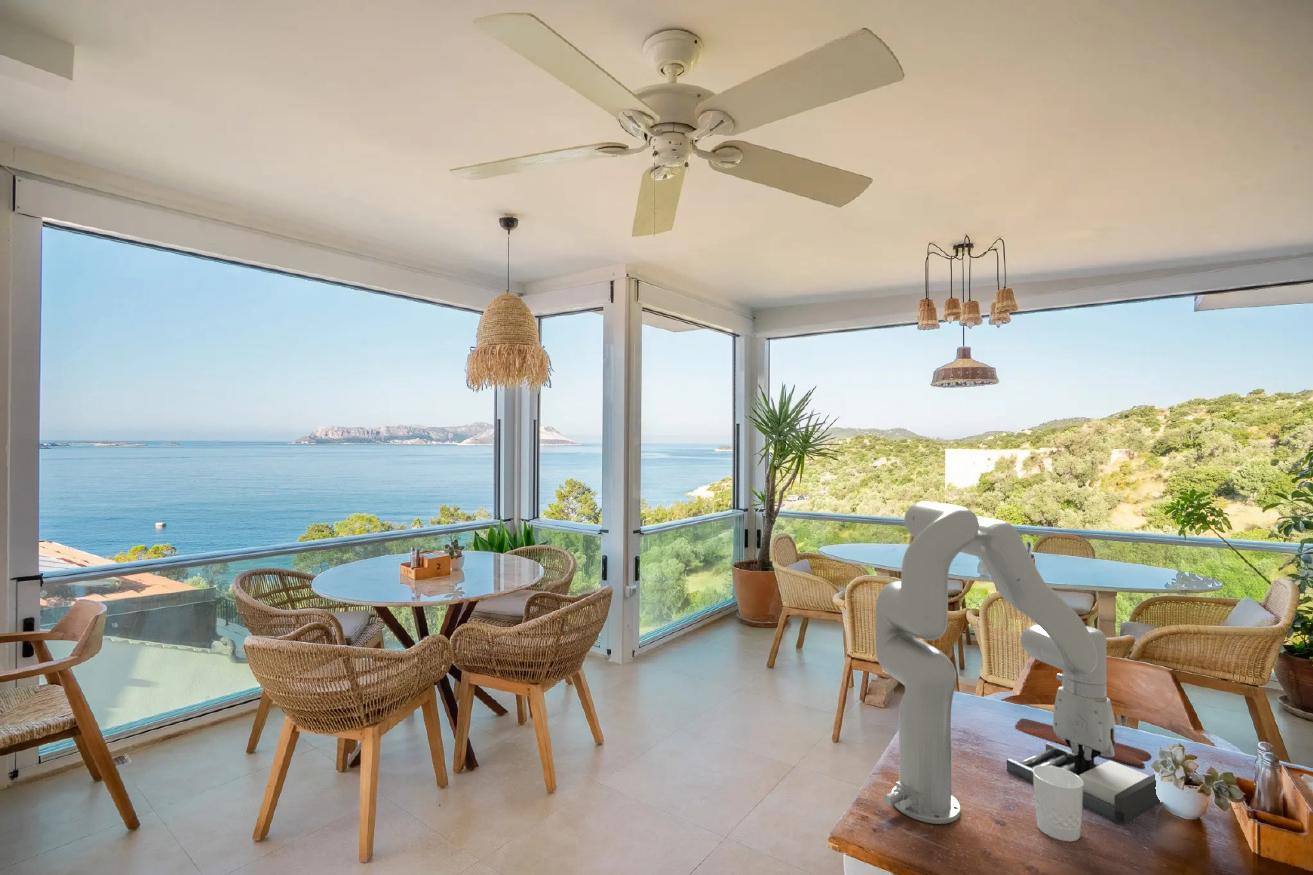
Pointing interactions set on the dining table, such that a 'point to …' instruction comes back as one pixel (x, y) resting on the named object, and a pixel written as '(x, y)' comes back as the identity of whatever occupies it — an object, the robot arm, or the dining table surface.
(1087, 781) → the slab
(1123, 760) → the wooden tablet
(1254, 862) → the dining table surface
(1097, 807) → the roller track
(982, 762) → the dining table surface
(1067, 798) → the white cup
